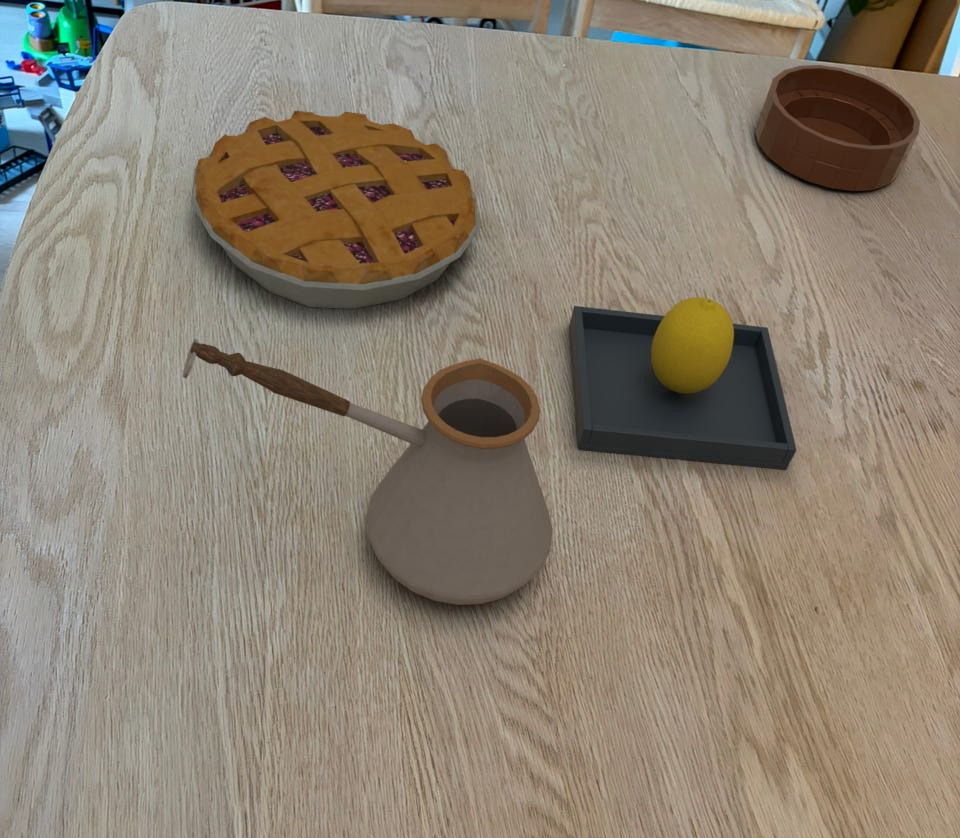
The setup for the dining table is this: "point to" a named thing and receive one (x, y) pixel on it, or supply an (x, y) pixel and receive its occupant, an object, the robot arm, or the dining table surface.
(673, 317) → the lemon
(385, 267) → the pie
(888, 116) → the bowl
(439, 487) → the coffee pot
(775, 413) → the tray
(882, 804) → the dining table surface
